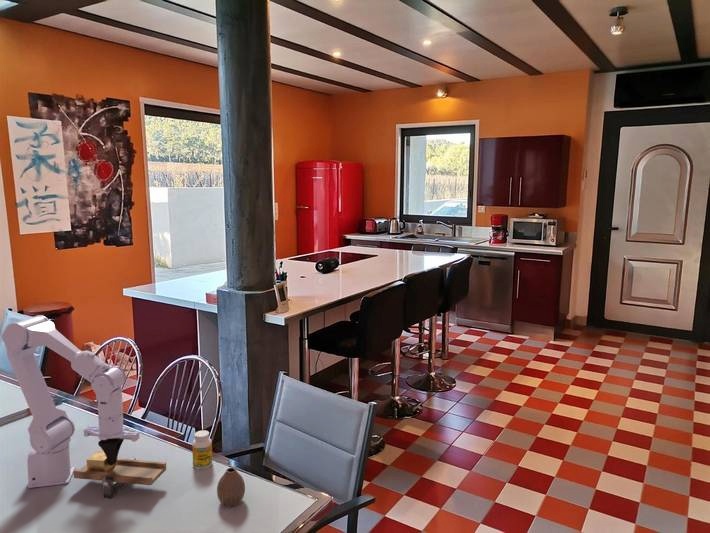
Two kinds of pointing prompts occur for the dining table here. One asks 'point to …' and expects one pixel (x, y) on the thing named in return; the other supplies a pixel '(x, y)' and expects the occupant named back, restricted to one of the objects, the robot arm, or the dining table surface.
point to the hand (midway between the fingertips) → (112, 463)
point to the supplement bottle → (202, 450)
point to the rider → (98, 462)
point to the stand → (112, 486)
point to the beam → (126, 472)
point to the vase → (230, 488)
